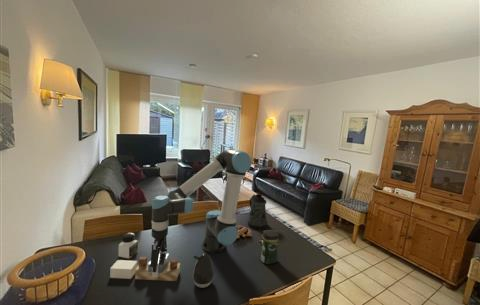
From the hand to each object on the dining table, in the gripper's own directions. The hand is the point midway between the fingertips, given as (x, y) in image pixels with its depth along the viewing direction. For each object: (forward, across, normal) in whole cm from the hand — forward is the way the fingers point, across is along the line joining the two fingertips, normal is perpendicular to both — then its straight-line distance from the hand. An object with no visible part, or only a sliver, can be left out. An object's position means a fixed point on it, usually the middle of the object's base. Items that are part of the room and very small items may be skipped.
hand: (158, 270), depth 104 cm
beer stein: (+3, -64, +56) cm, 85 cm away
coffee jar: (+3, -17, +59) cm, 61 cm away
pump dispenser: (+3, +4, +23) cm, 23 cm away
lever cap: (-2, 0, 0) cm, 2 cm away
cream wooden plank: (+3, 0, 0) cm, 3 cm away
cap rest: (+3, 0, -17) cm, 17 cm away
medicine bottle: (+3, -16, -23) cm, 28 cm away
